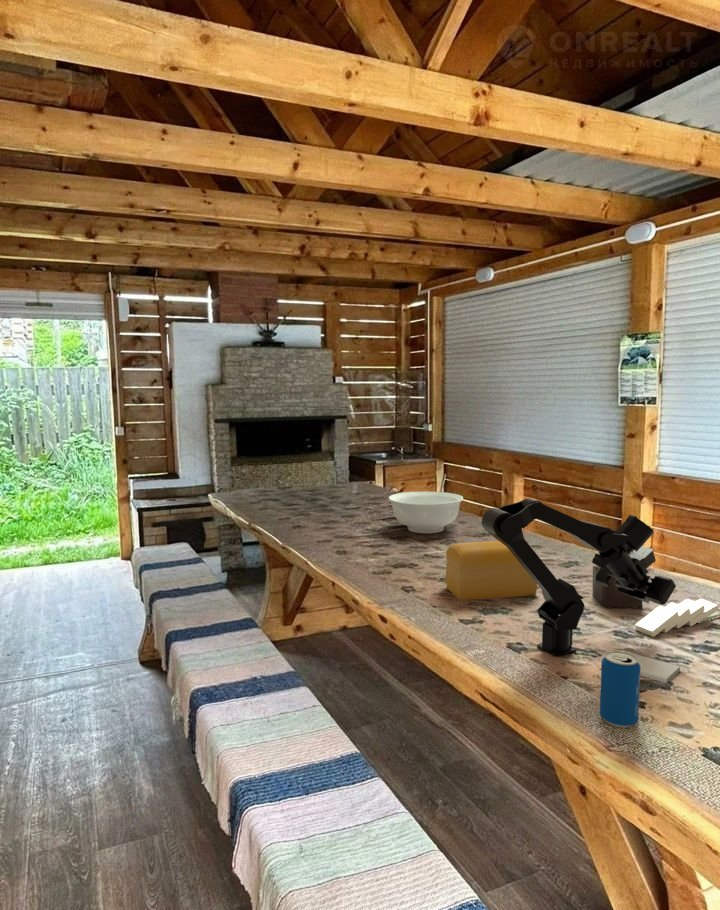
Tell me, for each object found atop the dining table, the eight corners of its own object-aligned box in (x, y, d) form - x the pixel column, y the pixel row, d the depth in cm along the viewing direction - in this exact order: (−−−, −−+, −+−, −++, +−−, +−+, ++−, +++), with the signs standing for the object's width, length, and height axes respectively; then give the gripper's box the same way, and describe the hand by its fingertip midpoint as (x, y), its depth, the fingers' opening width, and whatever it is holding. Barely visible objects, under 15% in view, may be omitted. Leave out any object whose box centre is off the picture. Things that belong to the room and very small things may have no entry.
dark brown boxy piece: (645, 608, 171) (648, 544, 169) (606, 608, 170) (609, 545, 169) (620, 590, 186) (622, 531, 184) (583, 590, 186) (586, 532, 184)
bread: (459, 601, 177) (460, 550, 176) (444, 587, 190) (445, 539, 189) (538, 595, 182) (539, 545, 181) (519, 582, 195) (520, 535, 193)
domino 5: (696, 620, 159) (720, 613, 164) (678, 614, 163) (702, 607, 168) (696, 626, 159) (719, 619, 164) (678, 620, 163) (701, 613, 168)
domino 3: (676, 623, 155) (703, 605, 158) (660, 616, 160) (686, 598, 163) (678, 628, 156) (705, 610, 159) (661, 621, 160) (687, 603, 163)
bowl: (372, 529, 269) (372, 496, 268) (422, 519, 291) (422, 488, 290) (429, 542, 246) (429, 506, 244) (478, 530, 268) (478, 496, 266)
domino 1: (652, 631, 150) (677, 611, 154) (634, 624, 155) (659, 605, 159) (653, 636, 151) (678, 616, 155) (635, 630, 155) (661, 610, 159)
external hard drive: (666, 686, 127) (606, 667, 136) (680, 673, 133) (621, 655, 141) (666, 678, 127) (606, 660, 136) (680, 666, 132) (622, 649, 141)
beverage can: (630, 734, 108) (633, 668, 107) (594, 721, 112) (596, 657, 111) (642, 719, 113) (645, 656, 112) (607, 707, 117) (609, 646, 116)
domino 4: (689, 621, 157) (717, 604, 160) (673, 613, 161) (700, 598, 165) (690, 626, 157) (718, 610, 160) (674, 619, 162) (701, 603, 165)
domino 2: (664, 627, 153) (689, 607, 157) (646, 621, 157) (671, 602, 161) (665, 633, 153) (690, 613, 157) (648, 626, 158) (672, 607, 162)
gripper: (672, 545, 140) (699, 585, 147) (604, 529, 156) (631, 566, 163) (648, 584, 137) (677, 623, 144) (581, 564, 153) (610, 600, 160)
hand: (648, 601), depth 152 cm, fingers closed
